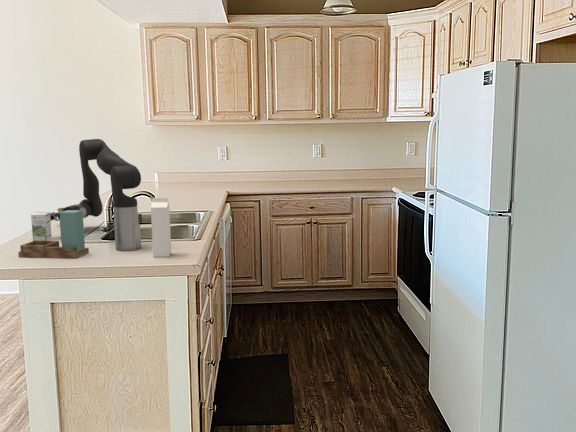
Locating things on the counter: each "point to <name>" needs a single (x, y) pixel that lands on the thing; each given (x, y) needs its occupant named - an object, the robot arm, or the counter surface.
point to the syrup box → (41, 226)
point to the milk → (161, 227)
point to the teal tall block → (72, 229)
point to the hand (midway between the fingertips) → (55, 219)
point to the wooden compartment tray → (49, 250)
